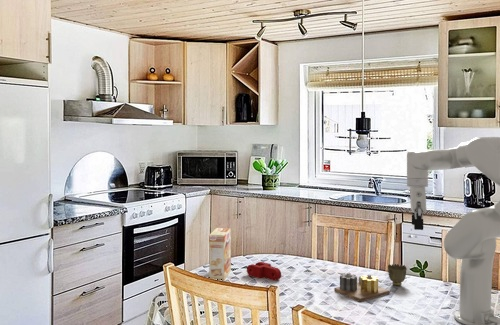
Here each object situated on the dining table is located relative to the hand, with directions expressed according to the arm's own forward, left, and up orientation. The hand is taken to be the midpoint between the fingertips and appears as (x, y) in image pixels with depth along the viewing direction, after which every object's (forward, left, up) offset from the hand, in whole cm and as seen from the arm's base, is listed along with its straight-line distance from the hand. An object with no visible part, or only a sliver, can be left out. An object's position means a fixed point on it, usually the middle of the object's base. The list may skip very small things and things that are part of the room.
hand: (417, 227), depth 181 cm
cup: (+12, -3, -27) cm, 30 cm away
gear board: (+14, +15, -27) cm, 34 cm away
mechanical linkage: (+51, +36, -27) cm, 68 cm away
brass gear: (+11, +13, -26) cm, 31 cm away
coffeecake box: (+64, +51, -27) cm, 86 cm away
